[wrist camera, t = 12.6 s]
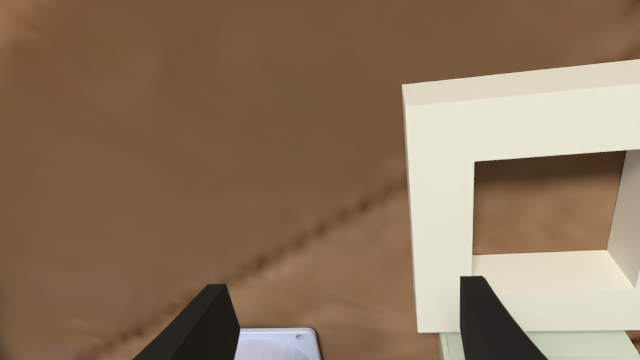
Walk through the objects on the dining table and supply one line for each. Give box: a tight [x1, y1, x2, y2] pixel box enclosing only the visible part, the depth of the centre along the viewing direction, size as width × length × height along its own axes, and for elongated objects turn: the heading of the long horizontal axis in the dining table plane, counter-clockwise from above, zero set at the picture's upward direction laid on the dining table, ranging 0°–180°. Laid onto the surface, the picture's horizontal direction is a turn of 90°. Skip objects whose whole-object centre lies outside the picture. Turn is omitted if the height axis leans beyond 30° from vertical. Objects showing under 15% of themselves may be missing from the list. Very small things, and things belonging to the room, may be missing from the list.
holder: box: [402, 59, 640, 333], centre depth 21 cm, size 13×13×3 cm
